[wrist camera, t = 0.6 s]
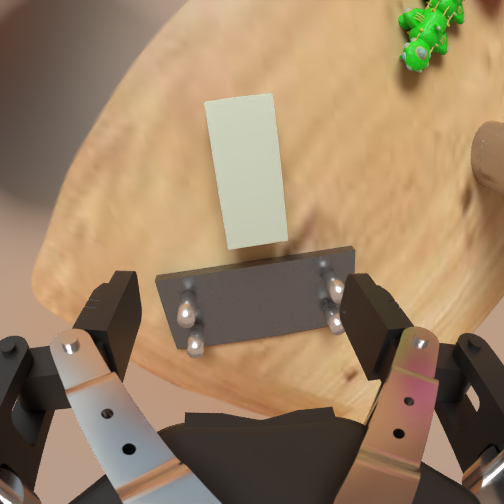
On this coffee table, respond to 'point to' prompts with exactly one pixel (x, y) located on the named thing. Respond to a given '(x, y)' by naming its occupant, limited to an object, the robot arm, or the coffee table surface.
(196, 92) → the coffee table surface
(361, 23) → the coffee table surface
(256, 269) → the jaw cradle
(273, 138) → the block
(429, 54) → the crocodile figurine
